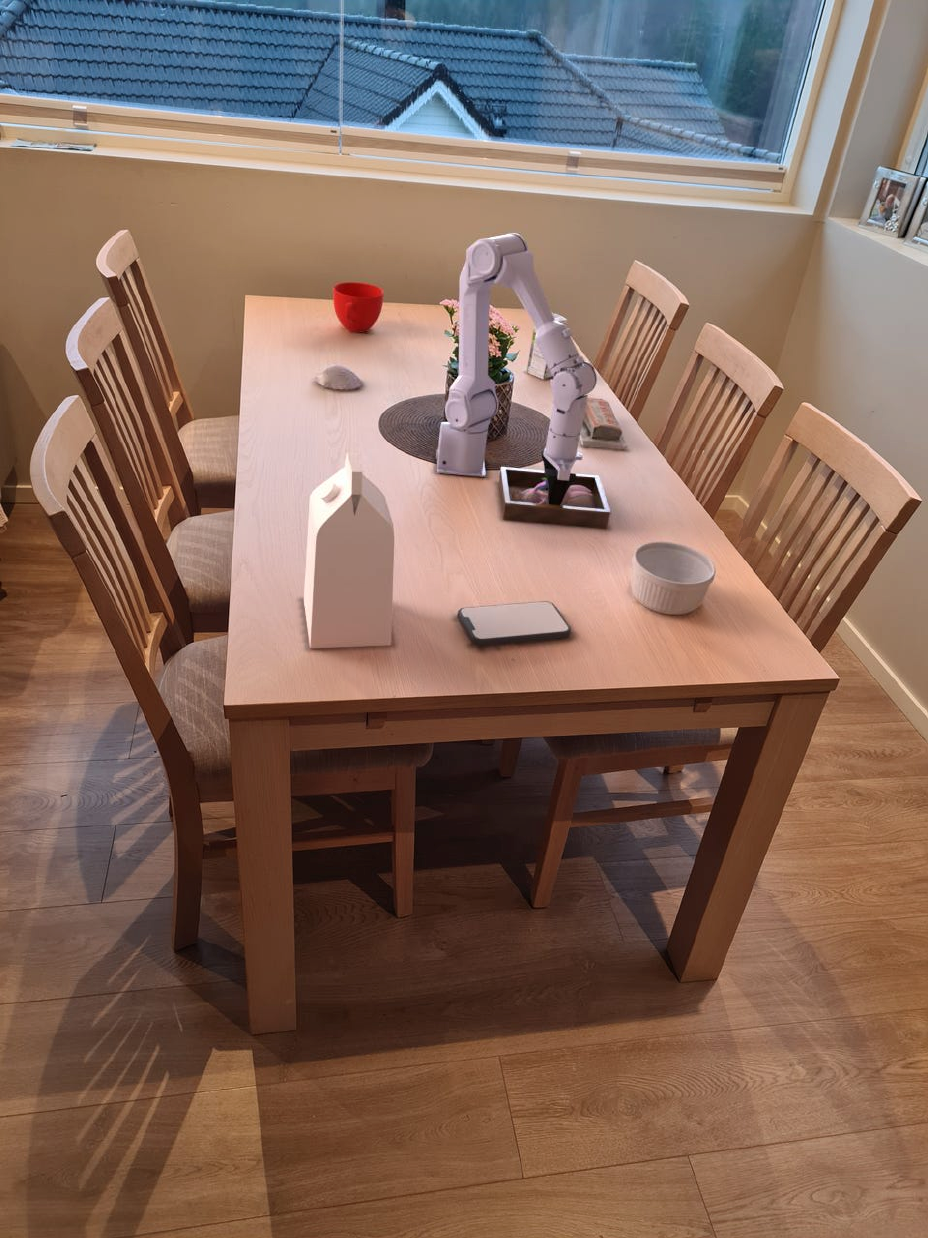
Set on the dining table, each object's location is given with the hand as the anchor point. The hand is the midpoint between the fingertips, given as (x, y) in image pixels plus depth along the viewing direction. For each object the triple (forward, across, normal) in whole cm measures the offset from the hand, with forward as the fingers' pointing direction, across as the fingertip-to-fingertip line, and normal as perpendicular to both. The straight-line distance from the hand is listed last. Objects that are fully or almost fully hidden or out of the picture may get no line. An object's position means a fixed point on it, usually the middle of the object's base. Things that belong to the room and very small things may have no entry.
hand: (552, 497), depth 175 cm
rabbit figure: (+2, 0, 0) cm, 2 cm away
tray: (+2, 0, 0) cm, 2 cm away
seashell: (0, +50, +44) cm, 67 cm away
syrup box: (+2, +70, -5) cm, 70 cm away
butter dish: (+2, +37, -14) cm, 40 cm away
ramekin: (+2, -29, -16) cm, 33 cm away
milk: (+2, -43, +35) cm, 55 cm away
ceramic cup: (+2, +89, +43) cm, 99 cm away
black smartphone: (+2, -41, +10) cm, 42 cm away
